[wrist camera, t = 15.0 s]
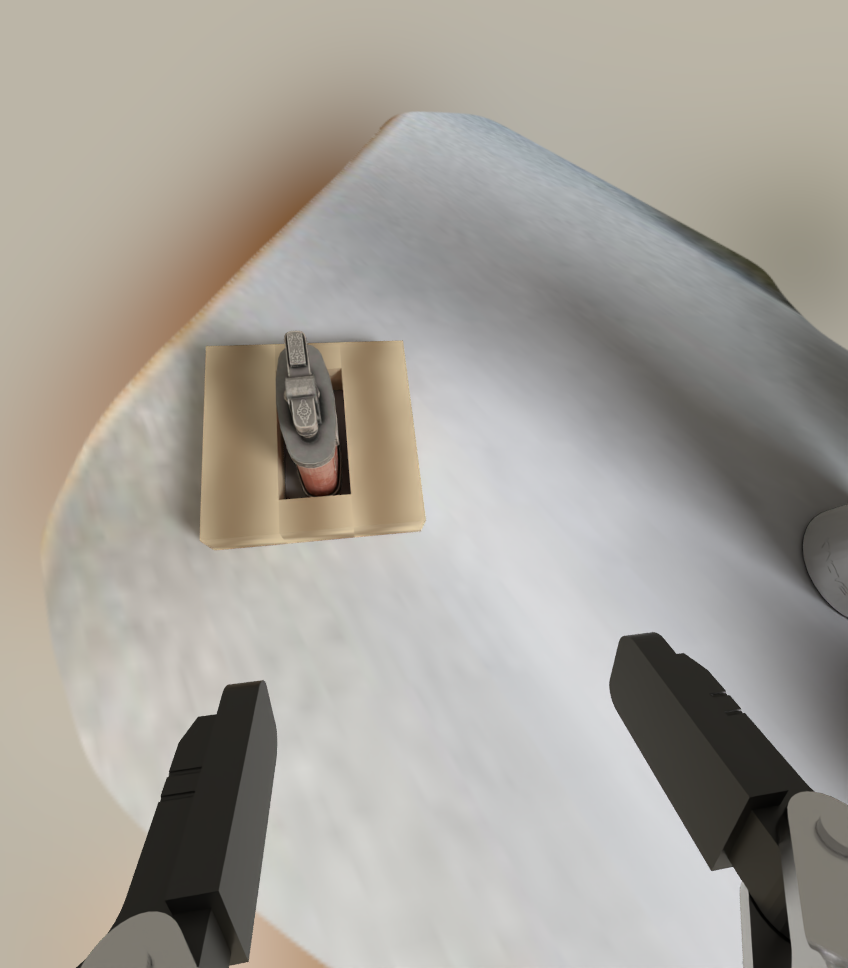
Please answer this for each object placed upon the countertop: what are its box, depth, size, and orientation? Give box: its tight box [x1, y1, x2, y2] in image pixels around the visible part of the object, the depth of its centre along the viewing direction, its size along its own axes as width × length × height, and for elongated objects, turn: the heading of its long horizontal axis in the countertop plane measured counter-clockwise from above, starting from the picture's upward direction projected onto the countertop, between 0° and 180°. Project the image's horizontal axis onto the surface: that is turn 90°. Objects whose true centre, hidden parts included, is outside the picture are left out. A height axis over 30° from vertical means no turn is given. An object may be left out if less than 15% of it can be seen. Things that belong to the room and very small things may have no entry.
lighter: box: [276, 331, 342, 498], centre depth 30 cm, size 8×3×10 cm, turn 11°
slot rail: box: [200, 341, 426, 550], centre depth 33 cm, size 14×14×3 cm
